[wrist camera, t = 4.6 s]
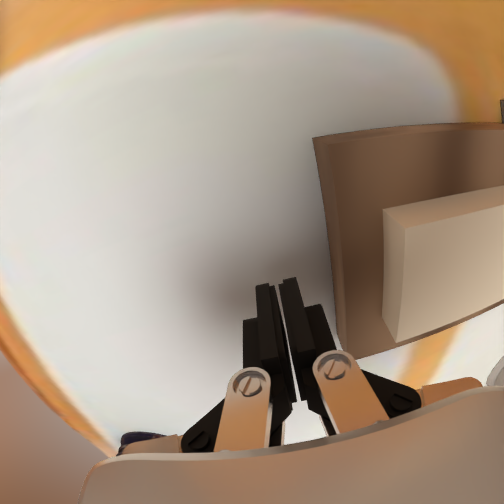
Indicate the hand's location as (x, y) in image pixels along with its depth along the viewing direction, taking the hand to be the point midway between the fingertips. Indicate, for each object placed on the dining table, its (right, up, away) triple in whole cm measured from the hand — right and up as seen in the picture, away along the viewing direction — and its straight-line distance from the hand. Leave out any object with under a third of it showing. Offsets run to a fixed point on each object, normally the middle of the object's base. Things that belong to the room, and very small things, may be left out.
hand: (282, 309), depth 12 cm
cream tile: (+9, +3, 0) cm, 10 cm away
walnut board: (+9, +4, +2) cm, 10 cm away
